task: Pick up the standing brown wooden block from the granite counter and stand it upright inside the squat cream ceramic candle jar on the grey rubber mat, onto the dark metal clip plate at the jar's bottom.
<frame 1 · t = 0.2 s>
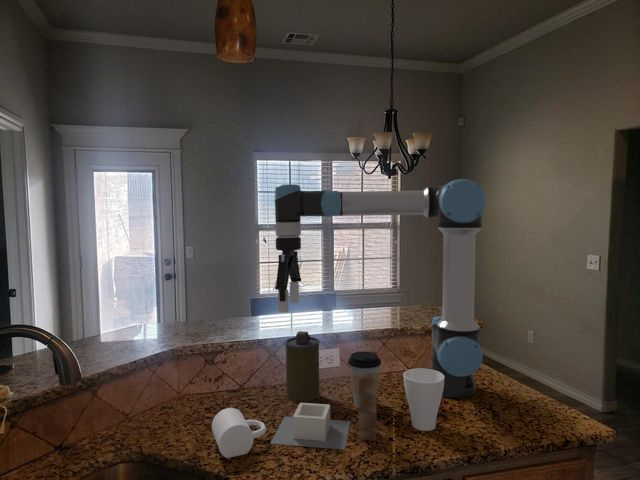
hand: (289, 307, 131), 28 cm above the worktop, fingers open, 13 cm apart
mug: (240, 447, 105), on the worktop
brown wooden block: (367, 439, 107), on the worktop
coffee cup: (364, 407, 125), on the worktop
cup: (423, 426, 114), on the worktop
mat: (312, 434, 110), on the worktop
canister: (303, 397, 133), on the worktop
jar: (312, 431, 110), resting on mat
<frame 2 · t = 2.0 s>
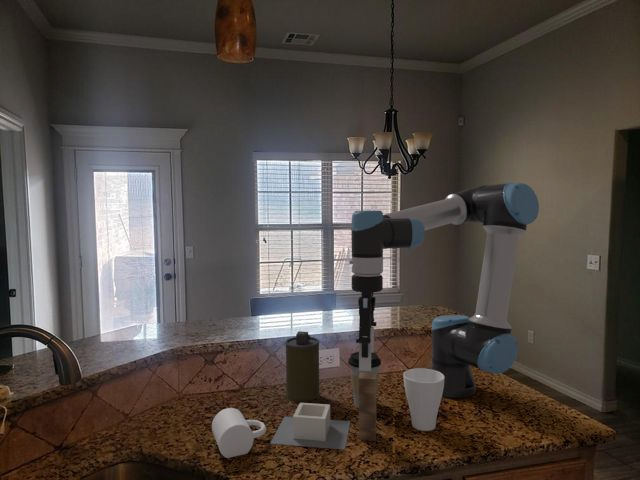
hand: (366, 360, 106), 20 cm above the worktop, fingers open, 13 cm apart
nothing on the worktop moved.
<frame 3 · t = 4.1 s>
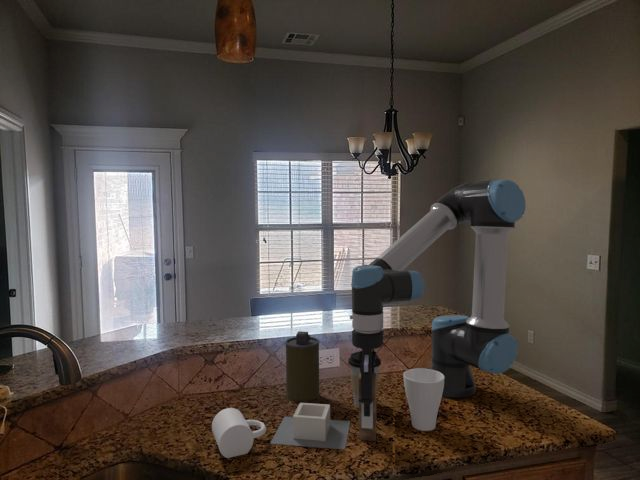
hand: (367, 422, 107), 4 cm above the worktop, fingers closed on brown wooden block, 4 cm apart
brown wooden block: (367, 439, 107), on the worktop, touching gripper
everything else where it was.
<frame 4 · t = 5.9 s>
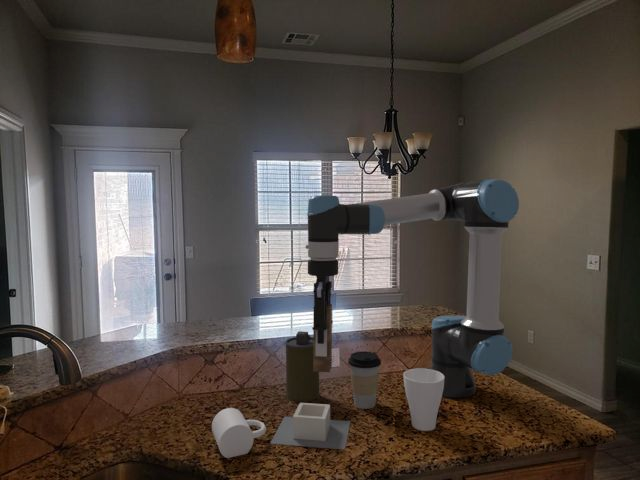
hand: (322, 352, 108), 21 cm above the worktop, fingers closed on brown wooden block, 4 cm apart
brown wooden block: (322, 369, 108), point 17 cm above the worktop, touching gripper
everything else where it was.
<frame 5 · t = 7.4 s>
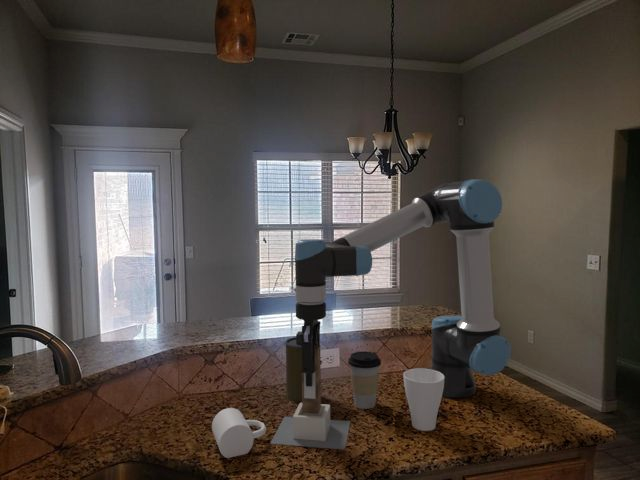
hand: (311, 393, 109), 11 cm above the worktop, fingers closed on brown wooden block, 4 cm apart
brown wooden block: (311, 409, 109), point 6 cm above the worktop, touching gripper
everything else where it was.
when the fingers open (8 cm above the worktop, at t = 8.1 s): brown wooden block drops 2 cm, resting on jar.
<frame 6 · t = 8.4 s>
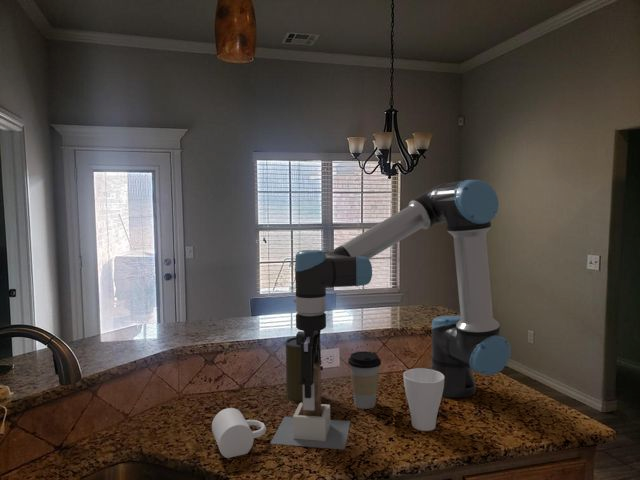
hand: (311, 402, 109), 8 cm above the worktop, fingers open, 7 cm apart
brown wooden block: (312, 427, 110), point 2 cm above the worktop, touching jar
everything else where it was.
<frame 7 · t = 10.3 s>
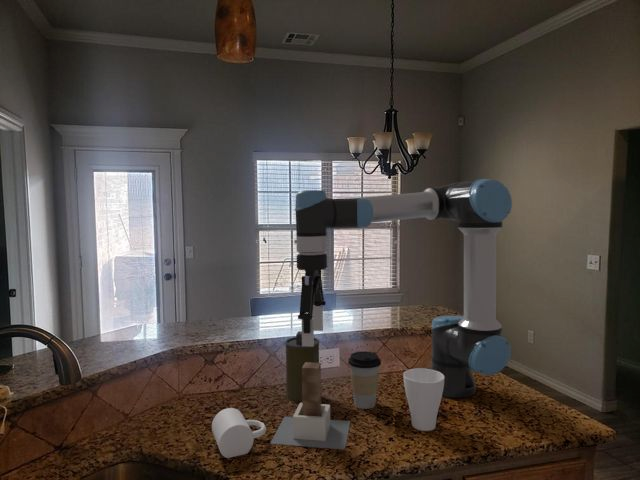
hand: (313, 337, 109), 25 cm above the worktop, fingers open, 13 cm apart
nothing on the worktop moved.
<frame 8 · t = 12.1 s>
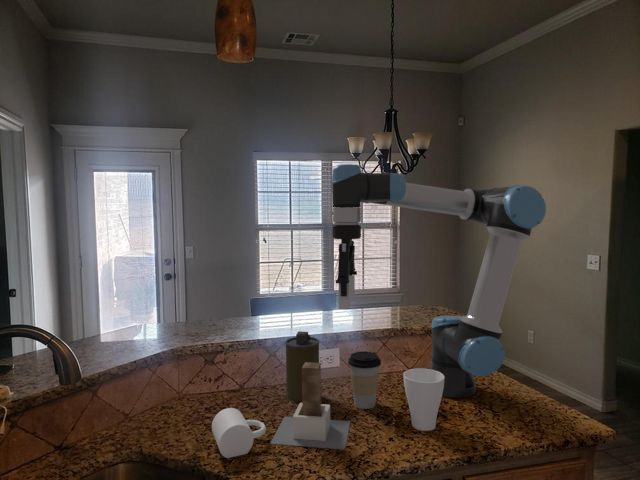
hand: (347, 303, 116), 32 cm above the worktop, fingers open, 13 cm apart
nothing on the worktop moved.
at the end: brown wooden block 0.0 cm off-centre on the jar, point 1.1 cm above the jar's base; brown wooden block tilted 0°; the gripper is holding nothing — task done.
